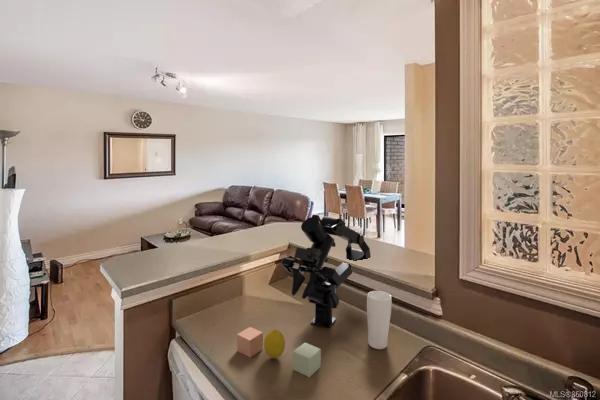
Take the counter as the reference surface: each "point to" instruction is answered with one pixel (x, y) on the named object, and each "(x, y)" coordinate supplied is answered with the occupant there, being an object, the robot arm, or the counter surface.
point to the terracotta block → (250, 341)
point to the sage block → (306, 359)
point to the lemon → (274, 343)
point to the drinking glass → (378, 318)
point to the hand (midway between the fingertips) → (297, 296)
